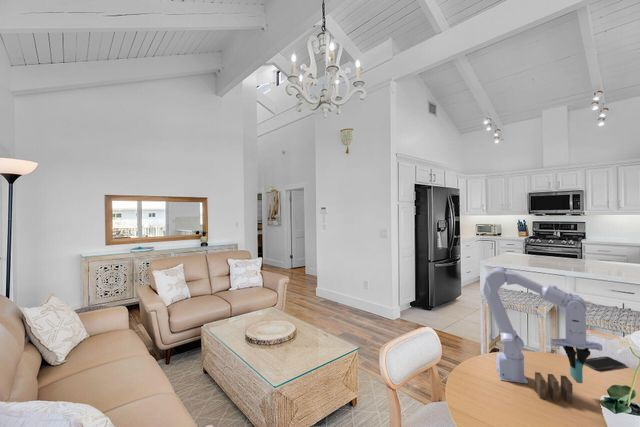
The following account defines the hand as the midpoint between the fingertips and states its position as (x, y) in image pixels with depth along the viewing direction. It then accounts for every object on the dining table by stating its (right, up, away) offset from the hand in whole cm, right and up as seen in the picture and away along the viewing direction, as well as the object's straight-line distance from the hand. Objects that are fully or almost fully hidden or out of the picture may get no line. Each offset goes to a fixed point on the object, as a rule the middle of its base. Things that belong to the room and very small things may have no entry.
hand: (576, 367), depth 109 cm
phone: (+28, -9, +19) cm, 35 cm away
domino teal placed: (0, -4, 0) cm, 4 cm away
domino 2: (-8, -11, 0) cm, 14 cm away
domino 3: (-4, -11, -1) cm, 12 cm away
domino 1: (-12, -11, +1) cm, 16 cm away
